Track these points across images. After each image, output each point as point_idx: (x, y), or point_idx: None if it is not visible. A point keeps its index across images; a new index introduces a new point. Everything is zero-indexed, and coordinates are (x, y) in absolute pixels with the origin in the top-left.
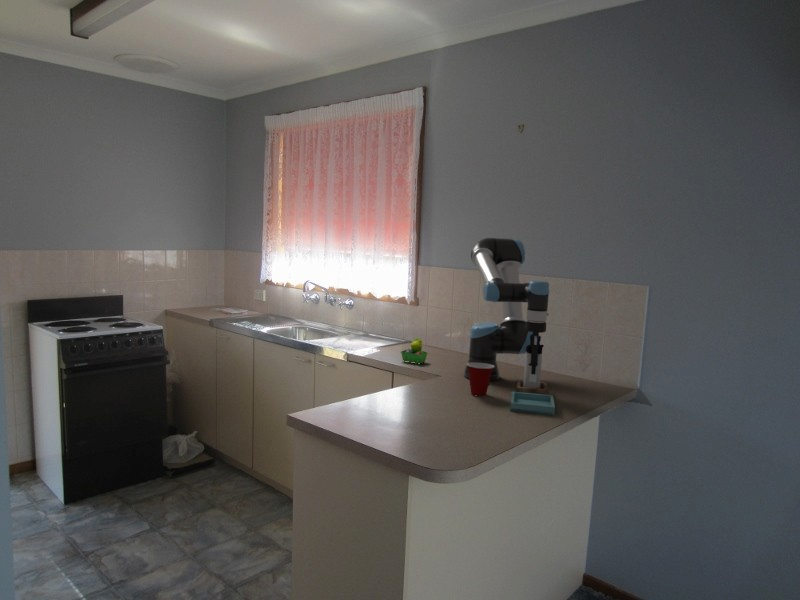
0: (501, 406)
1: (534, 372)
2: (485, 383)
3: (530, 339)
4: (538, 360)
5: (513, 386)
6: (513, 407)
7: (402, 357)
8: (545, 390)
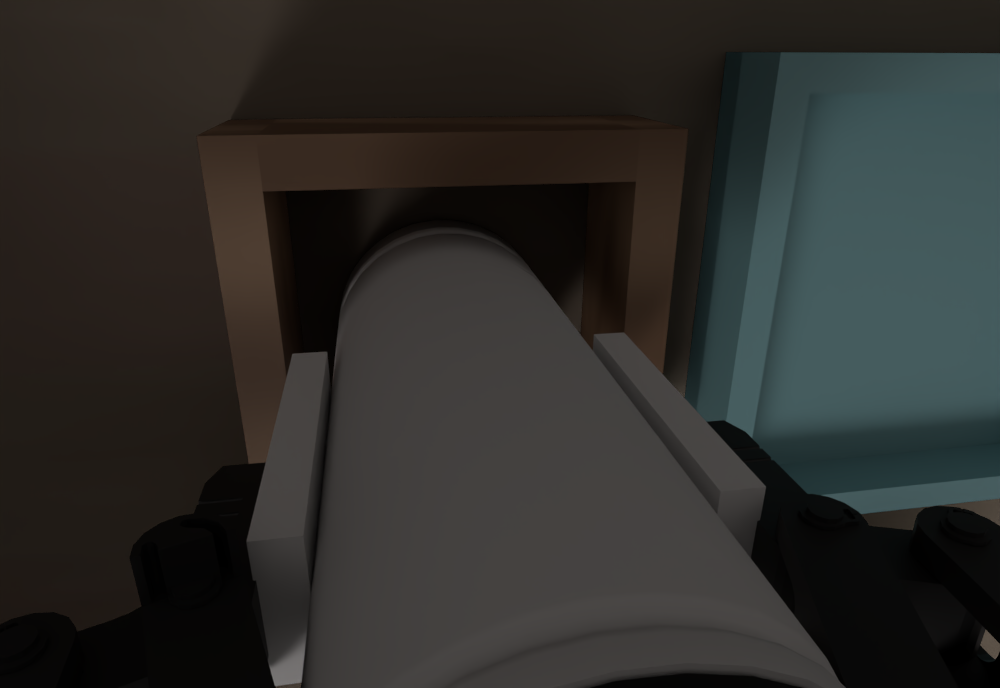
0: (898, 523)
1: (748, 451)
2: None
3: None
4: (748, 559)
5: (140, 524)
6: None
7: None
8: (680, 165)
